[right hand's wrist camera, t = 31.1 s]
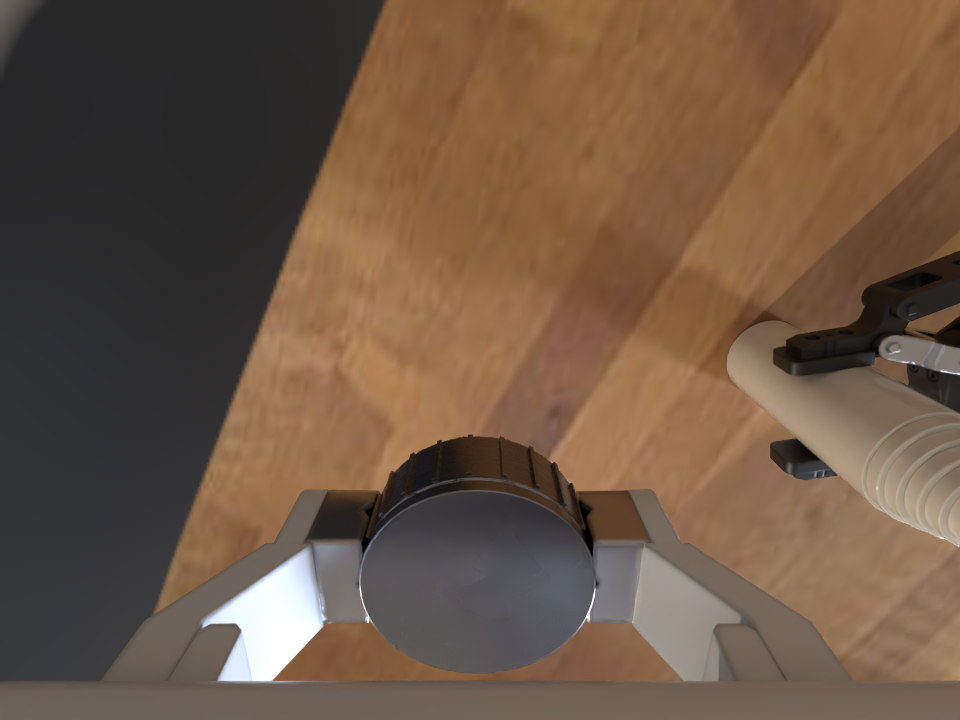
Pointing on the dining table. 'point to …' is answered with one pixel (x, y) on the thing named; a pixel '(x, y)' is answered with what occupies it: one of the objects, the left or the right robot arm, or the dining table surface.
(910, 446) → the bottle
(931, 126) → the dining table surface
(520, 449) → the cap
